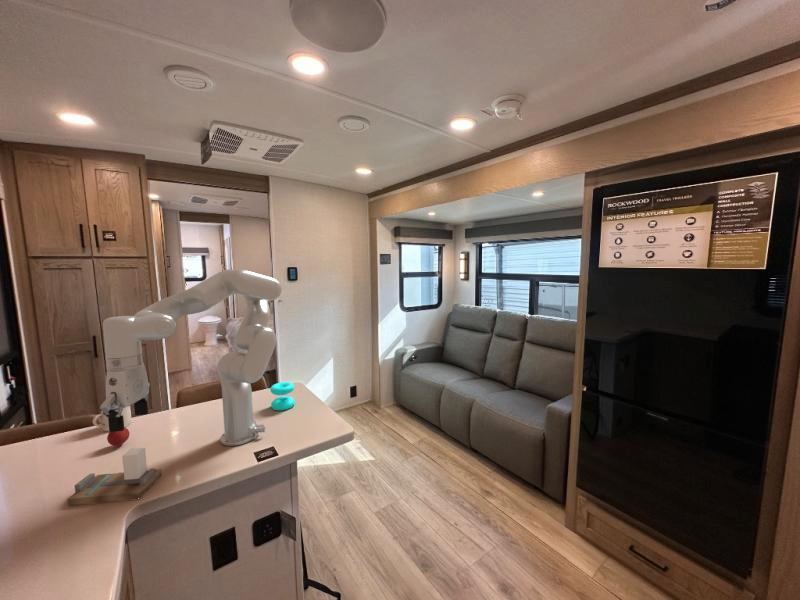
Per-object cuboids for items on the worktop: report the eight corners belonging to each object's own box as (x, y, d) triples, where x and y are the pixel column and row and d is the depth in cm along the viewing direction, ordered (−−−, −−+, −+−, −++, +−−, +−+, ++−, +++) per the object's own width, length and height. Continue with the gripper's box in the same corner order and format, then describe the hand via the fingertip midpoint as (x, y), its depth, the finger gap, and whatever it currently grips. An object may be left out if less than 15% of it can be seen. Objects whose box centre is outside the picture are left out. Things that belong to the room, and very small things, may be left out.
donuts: (293, 387, 140) (268, 390, 137) (294, 410, 141) (269, 412, 138) (294, 380, 149) (271, 382, 147) (295, 401, 150) (273, 403, 148)
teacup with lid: (123, 419, 133) (120, 392, 132) (137, 422, 130) (135, 394, 129) (87, 433, 122) (83, 403, 121) (102, 437, 119) (99, 407, 118)
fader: (148, 475, 93) (145, 447, 92) (140, 483, 89) (137, 454, 89) (133, 477, 92) (130, 448, 92) (124, 485, 89) (121, 455, 88)
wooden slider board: (161, 475, 96) (160, 463, 96) (139, 499, 87) (137, 485, 86) (98, 481, 94) (96, 468, 94) (68, 506, 84) (66, 491, 84)
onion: (117, 451, 110) (115, 429, 109) (103, 449, 111) (101, 427, 110) (134, 442, 115) (132, 421, 114) (121, 441, 116) (119, 419, 116)
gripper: (116, 370, 79) (122, 437, 81) (159, 353, 96) (163, 408, 98) (82, 372, 78) (89, 439, 80) (131, 354, 95) (136, 409, 97)
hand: (129, 422), depth 89 cm, fingers open, 9 cm apart
